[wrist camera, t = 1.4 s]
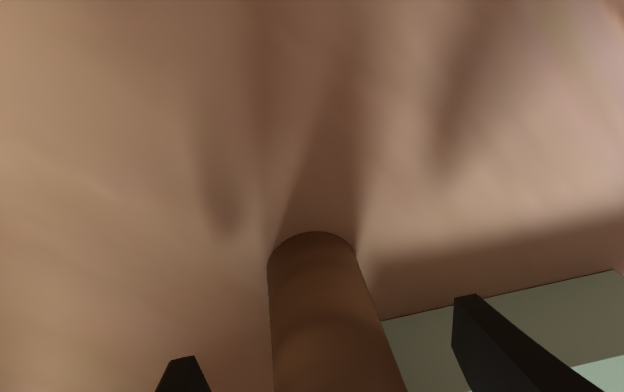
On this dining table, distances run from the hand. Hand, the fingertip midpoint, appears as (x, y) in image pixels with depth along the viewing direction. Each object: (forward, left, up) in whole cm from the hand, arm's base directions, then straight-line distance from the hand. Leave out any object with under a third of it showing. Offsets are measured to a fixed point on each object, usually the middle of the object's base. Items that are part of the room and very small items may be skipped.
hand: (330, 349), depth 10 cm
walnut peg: (0, 0, -4) cm, 4 cm away
